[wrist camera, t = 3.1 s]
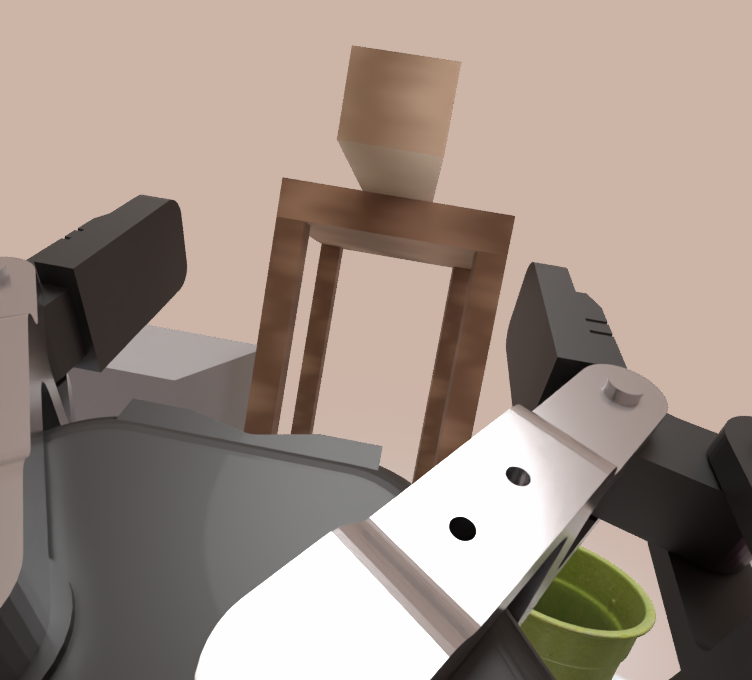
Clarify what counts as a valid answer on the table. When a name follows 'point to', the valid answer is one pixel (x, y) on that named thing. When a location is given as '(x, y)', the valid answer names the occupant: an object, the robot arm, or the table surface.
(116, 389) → the grey rectangular block
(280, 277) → the walnut stool
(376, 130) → the birch bar
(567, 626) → the plant pot
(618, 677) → the table surface
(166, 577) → the robot arm
